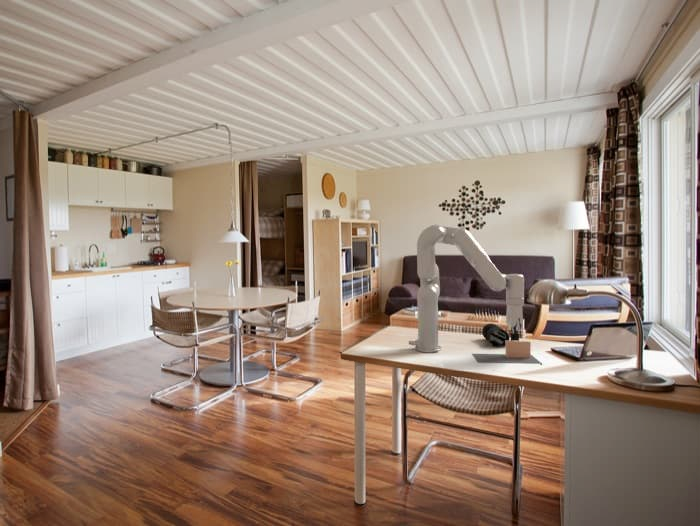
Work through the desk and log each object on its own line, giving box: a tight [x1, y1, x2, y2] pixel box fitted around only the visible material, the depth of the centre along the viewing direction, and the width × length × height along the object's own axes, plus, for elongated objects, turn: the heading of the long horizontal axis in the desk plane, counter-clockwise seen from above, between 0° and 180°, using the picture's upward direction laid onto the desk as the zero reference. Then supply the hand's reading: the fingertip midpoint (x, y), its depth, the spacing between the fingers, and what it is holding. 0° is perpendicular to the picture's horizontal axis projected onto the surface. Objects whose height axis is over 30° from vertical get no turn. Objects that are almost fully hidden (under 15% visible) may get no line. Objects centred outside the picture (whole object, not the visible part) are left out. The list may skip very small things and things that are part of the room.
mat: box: [471, 353, 543, 366], centre depth 178 cm, size 26×14×1 cm, turn 83°
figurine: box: [481, 323, 510, 348], centre depth 207 cm, size 9×9×20 cm
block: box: [504, 339, 532, 358], centre depth 180 cm, size 10×2×7 cm, turn 83°
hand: (514, 341), depth 185 cm, fingers closed
